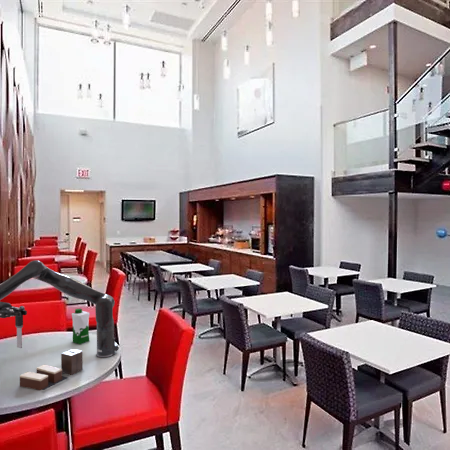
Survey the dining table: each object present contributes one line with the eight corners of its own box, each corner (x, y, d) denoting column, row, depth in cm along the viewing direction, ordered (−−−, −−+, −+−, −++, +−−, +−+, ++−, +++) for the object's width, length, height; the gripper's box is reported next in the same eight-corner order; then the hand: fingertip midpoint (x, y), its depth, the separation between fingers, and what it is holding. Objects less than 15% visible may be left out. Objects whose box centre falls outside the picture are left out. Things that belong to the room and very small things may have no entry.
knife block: (61, 374, 184) (61, 353, 184) (72, 368, 191) (72, 348, 190) (71, 376, 181) (71, 355, 181) (82, 371, 188) (82, 350, 187)
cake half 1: (19, 386, 170) (19, 375, 169) (27, 382, 174) (27, 371, 174) (40, 390, 166) (40, 379, 166) (48, 385, 170) (48, 375, 170)
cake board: (21, 385, 172) (21, 383, 172) (46, 373, 185) (46, 371, 185) (43, 392, 166) (43, 390, 166) (68, 379, 179) (68, 377, 179)
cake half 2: (36, 378, 178) (36, 367, 178) (44, 374, 182) (44, 364, 182) (54, 383, 173) (54, 372, 173) (62, 379, 177) (62, 368, 177)
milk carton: (82, 338, 236) (82, 307, 235) (91, 341, 231) (91, 309, 231) (70, 342, 229) (69, 310, 228) (79, 345, 224) (79, 312, 223)
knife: (14, 348, 179) (14, 309, 178) (19, 346, 181) (19, 307, 180) (19, 349, 178) (18, 309, 177) (23, 347, 180) (23, 308, 179)
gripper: (-15, 305, 178) (9, 309, 171) (12, 299, 191) (36, 302, 184) (-15, 320, 178) (9, 325, 171) (12, 313, 191) (36, 317, 184)
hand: (23, 313), depth 177 cm, fingers closed on knife, 2 cm apart
